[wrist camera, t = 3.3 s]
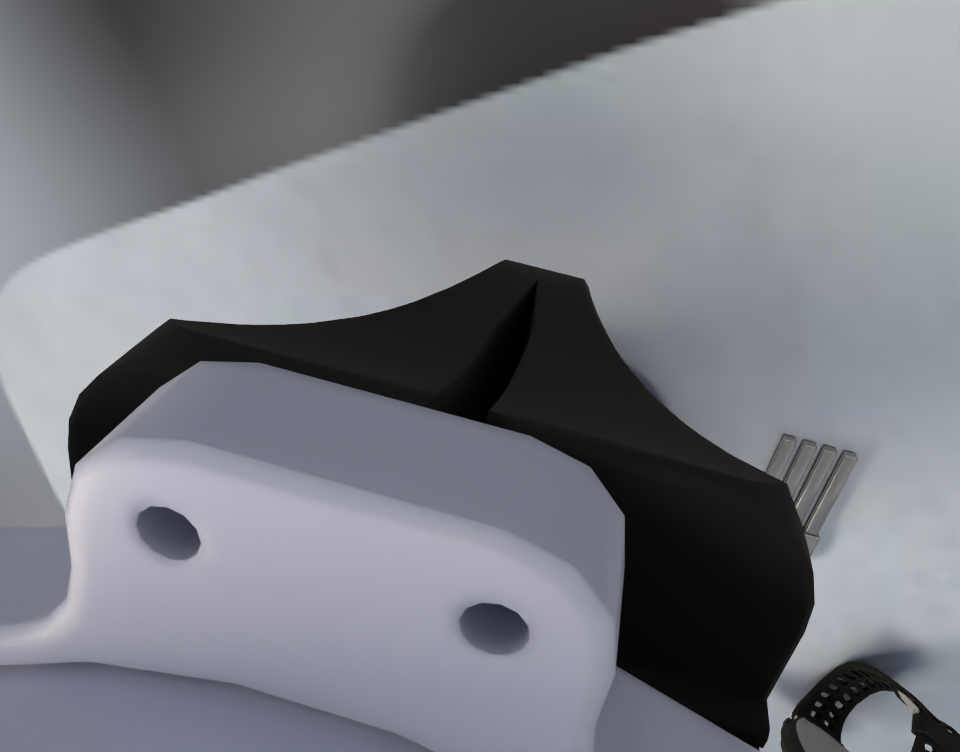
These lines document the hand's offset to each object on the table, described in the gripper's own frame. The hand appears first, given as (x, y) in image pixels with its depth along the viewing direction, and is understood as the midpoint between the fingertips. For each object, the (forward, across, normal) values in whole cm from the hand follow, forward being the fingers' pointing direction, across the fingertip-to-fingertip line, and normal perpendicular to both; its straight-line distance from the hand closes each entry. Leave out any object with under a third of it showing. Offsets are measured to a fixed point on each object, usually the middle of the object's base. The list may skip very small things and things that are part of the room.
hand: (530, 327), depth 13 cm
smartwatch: (+10, -13, +15) cm, 22 cm away
